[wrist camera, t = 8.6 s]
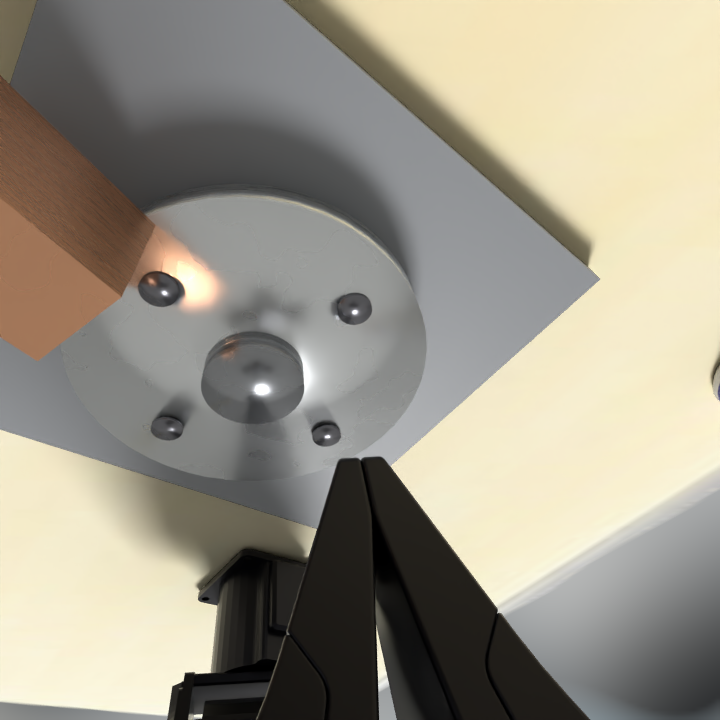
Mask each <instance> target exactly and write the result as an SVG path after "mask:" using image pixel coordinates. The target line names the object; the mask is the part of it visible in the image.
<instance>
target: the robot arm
mask: <svg viewBox="0 0 720 720" xmlns="http://www.w3.org/2000/svg"><path fill="white" fill-rule="evenodd" d="M198 600H199V601H200V602H203V603H208V604H213V605H218V606H217V616H216V626H215V636H214V646H213V656H212V666H211V673H205V674H195V672H189V673H185V676H184V681H183V682H181V683H179V684H177V685H175V686H173V687H172V693H171V700H170V706H169V713H168V719H167V720H193V715H196V714H203V716H202V719H196V720H379V702H378V670H377V638H376V625H377V630H378V635H379V639H380V644H381V648H382V653H383V658H384V662H385V667H386V672H387V676H388V681H389V685H390V690H391V695H392V699H393V704H394V708H395V713H396V718H397V720H590V719H589V718H588V717H587V716H586V714H585V713H584V712H583V711H582V710H581V709H580V708H579V707H578V706H577V705H576V704H575V703H574V701H573V700H572V699H571V698H570V697H569V696H568V695H567V694H566V692H565V691H564V690H563V689H562V688H561V687H560V686H559V684H558V683H557V682H556V681H555V680H554V679H553V678H552V676H550V674H549V673H548V672H547V671H546V670H545V668H544V667H543V666H542V665H541V664H540V663H539V662H538V660H537V659H536V658H535V656H534V655H533V654H532V653H531V651H530V650H529V649H528V648H527V646H526V645H525V644H524V642H523V641H522V640H521V639H520V637H519V636H518V635H517V634H516V632H515V631H514V630H513V629H512V627H511V626H510V624H509V623H508V622H507V620H506V619H505V618H504V616H503V615H502V614H501V613H498V614H497V612H498V609H497V607H496V606H495V605H494V603H493V602H492V601H491V599H490V598H489V597H488V595H487V594H486V593H485V591H484V590H483V589H482V587H481V586H480V585H479V583H478V582H477V581H476V579H475V578H474V577H473V575H472V574H471V573H470V572H469V570H468V569H467V568H466V566H465V565H464V564H463V562H462V561H461V560H460V558H459V557H458V556H457V554H456V553H455V552H454V550H453V549H452V548H451V546H450V545H449V544H448V542H447V541H446V540H445V538H444V537H443V536H442V534H441V533H440V532H439V530H438V529H437V528H436V526H435V525H434V524H433V522H432V521H431V520H430V518H429V517H428V516H427V514H426V513H425V512H424V510H423V509H422V508H421V506H420V505H419V504H418V502H417V501H416V500H415V499H414V497H413V496H412V495H411V493H410V492H409V491H408V489H407V488H406V487H405V485H404V484H403V483H402V481H401V480H400V479H399V477H398V476H397V475H396V473H395V472H394V471H393V469H392V468H391V467H390V465H389V464H388V463H387V461H386V460H385V459H384V458H383V457H381V456H373V457H363V458H362V459H361V460H360V459H359V458H356V457H355V458H341V459H339V460H338V462H337V465H336V468H335V471H334V475H333V478H332V481H331V485H330V488H329V491H328V495H327V498H326V501H325V505H324V508H323V511H322V515H321V518H320V521H319V525H318V528H317V531H316V535H315V538H314V541H313V545H312V548H311V551H310V554H309V558H308V561H307V564H303V563H300V562H296V561H292V560H289V559H285V558H281V557H277V556H274V555H270V554H266V553H263V552H259V551H255V550H251V549H245V550H242V551H241V552H240V553H239V554H238V555H237V556H236V557H234V558H233V559H232V560H231V561H230V562H229V563H228V564H227V565H226V566H225V567H224V568H223V569H222V570H221V571H220V572H219V573H218V574H217V575H216V576H215V577H214V578H213V579H212V580H211V581H210V582H209V583H208V584H207V585H206V586H205V587H204V588H203V589H202V590H201V591H200V592H199V595H198Z"/></svg>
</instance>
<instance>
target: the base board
mask: <svg viewBox="0 0 720 720" xmlns="http://www.w3.org/2000/svg"><path fill="white" fill-rule="evenodd" d="M10 85H11V86H12V87H13V88H14V89H15V90H16V91H17V92H18V93H19V94H20V95H21V96H22V97H23V98H24V99H25V100H26V101H27V102H28V103H29V104H30V105H31V106H32V107H33V108H34V109H36V110H37V111H38V112H39V113H40V114H41V115H42V116H43V117H44V118H45V119H46V120H47V121H48V122H49V123H50V124H51V125H52V126H53V127H54V128H55V129H56V130H57V131H58V132H59V133H60V134H62V135H63V136H64V137H65V138H66V139H67V140H68V141H69V142H70V143H71V144H72V145H73V146H74V147H75V148H76V149H77V150H78V151H79V152H80V153H81V154H82V155H83V156H84V157H85V158H86V159H88V160H89V161H90V162H91V163H92V164H93V165H94V166H95V167H96V168H97V169H98V170H99V171H100V172H101V173H102V174H103V175H104V176H105V177H106V178H107V179H108V180H109V181H110V182H111V183H112V184H114V185H115V186H116V187H117V188H118V189H119V190H120V191H121V192H122V193H123V194H124V195H125V196H126V197H127V198H128V199H129V200H130V201H131V202H132V203H133V204H134V205H135V206H136V207H137V208H138V209H139V208H141V207H143V206H145V205H147V204H149V203H151V202H153V201H155V200H157V199H159V198H162V197H165V196H168V195H171V194H174V193H177V192H180V191H183V190H186V189H192V188H197V187H203V186H209V185H215V184H238V183H244V184H256V185H268V186H274V187H278V188H283V189H288V190H292V191H297V192H300V193H303V194H306V195H308V196H311V197H314V198H317V199H320V200H322V201H324V202H326V203H328V204H330V205H332V206H334V207H336V208H338V209H340V210H342V211H344V212H346V213H347V214H349V215H350V216H352V217H353V218H355V219H356V220H358V221H359V222H361V223H362V224H363V225H365V226H366V227H367V228H368V229H369V230H371V231H372V232H373V233H374V234H375V235H376V236H377V237H378V238H379V239H380V240H382V241H383V243H384V244H385V245H386V246H387V247H388V249H389V250H390V251H391V252H392V253H393V255H394V256H395V257H396V258H397V260H398V262H399V263H400V265H401V267H402V268H403V270H404V272H405V273H406V275H407V277H408V280H409V282H410V285H411V287H412V290H413V292H414V294H415V297H416V300H417V302H418V305H419V307H420V310H421V312H422V316H423V321H424V325H425V330H426V344H427V352H426V361H425V368H424V372H423V375H422V379H421V383H420V385H419V387H418V389H417V392H416V394H415V396H414V398H413V400H412V402H411V403H410V405H409V406H408V408H407V410H406V411H405V413H404V414H403V415H402V416H401V418H400V419H399V420H398V421H397V422H396V424H395V425H394V426H393V427H392V428H391V429H390V430H389V431H388V432H387V433H386V434H384V435H383V436H382V437H381V438H380V439H379V440H377V441H376V442H375V443H373V444H372V445H371V446H369V447H368V448H366V449H365V450H363V451H361V452H360V453H358V454H356V455H355V456H353V457H351V458H355V457H356V458H359V459H360V460H361V459H362V458H363V457H373V456H381V457H383V458H384V459H385V460H386V461H387V463H388V464H389V465H390V466H391V465H392V464H393V463H394V462H395V461H397V460H398V459H399V458H400V457H401V456H402V455H403V454H404V453H406V452H407V451H408V450H409V449H410V448H411V447H412V446H413V445H415V444H416V443H417V442H418V441H419V440H420V439H421V438H422V437H424V436H425V435H426V434H427V433H428V432H429V431H430V430H431V429H433V428H434V427H435V426H436V425H437V424H438V423H439V422H440V421H442V420H443V419H444V418H445V417H446V416H447V415H448V414H449V413H451V412H452V411H453V410H454V409H455V408H456V407H457V406H458V405H460V404H461V403H462V402H463V401H464V400H465V399H466V398H467V397H469V396H470V395H471V394H472V393H473V392H474V391H475V390H476V389H477V388H479V387H480V386H481V385H482V384H483V383H484V382H485V381H486V380H488V379H489V378H490V377H491V376H492V375H493V374H494V373H495V372H497V371H498V370H499V369H500V368H501V367H502V366H503V365H504V364H506V363H507V362H508V361H509V360H510V359H511V358H512V357H513V356H515V355H516V354H517V353H518V352H519V351H520V350H521V349H522V348H524V347H525V346H526V345H527V344H528V343H529V342H530V341H531V340H533V339H534V338H535V337H536V336H537V335H538V334H539V333H540V332H542V331H543V330H544V329H545V328H546V327H547V326H548V325H549V324H551V323H552V322H553V321H554V320H555V319H556V318H557V317H558V316H560V315H561V314H562V313H563V312H564V311H565V310H566V309H567V308H569V307H570V306H571V305H572V304H573V303H574V302H575V301H576V300H578V299H579V298H580V297H581V296H582V295H583V294H584V293H585V292H586V291H588V290H589V289H590V288H591V287H592V286H593V285H594V284H595V283H597V282H598V281H599V280H600V278H599V277H598V276H597V275H596V274H595V273H594V272H593V271H592V270H591V269H590V268H589V267H588V266H586V265H585V264H584V263H583V262H582V261H581V260H580V259H578V258H577V257H576V256H575V255H574V254H573V253H572V252H570V251H569V250H568V249H567V248H566V247H565V246H564V245H563V244H561V243H560V242H559V241H558V240H557V239H556V238H555V237H553V236H552V235H551V234H550V233H549V232H548V231H547V230H545V229H544V228H543V227H542V226H541V225H540V224H539V223H537V222H536V221H535V220H534V219H533V218H532V217H531V216H530V215H528V214H527V213H526V212H525V211H524V210H523V209H522V208H520V207H519V206H518V205H517V204H516V203H515V202H514V201H512V200H511V199H510V198H509V197H508V196H507V195H506V194H505V193H503V192H502V191H501V190H500V189H499V188H498V187H497V186H495V185H494V184H493V183H492V182H491V181H490V180H489V179H487V178H486V177H485V176H484V175H483V174H482V173H481V172H479V171H478V170H477V169H476V168H475V167H474V166H473V165H472V164H470V163H469V162H468V161H467V160H466V159H465V158H464V157H462V156H461V155H460V154H459V153H458V152H457V151H456V150H454V149H453V148H452V147H451V146H450V145H449V144H448V143H446V142H445V141H444V140H443V139H442V138H441V137H440V136H439V135H437V134H436V133H435V132H434V131H433V130H432V129H431V128H429V127H428V126H427V125H426V124H425V123H424V122H423V121H421V120H420V119H419V118H418V117H417V116H416V115H415V114H414V113H412V112H411V111H410V110H409V109H408V108H407V107H406V106H404V105H403V104H402V103H401V102H400V101H399V100H398V99H396V98H395V97H394V96H393V95H392V94H391V93H390V92H388V91H387V90H386V89H385V88H384V87H383V86H382V85H381V84H379V83H378V82H377V81H376V80H375V79H374V78H373V77H371V76H370V75H369V74H368V73H367V72H366V71H365V70H363V69H362V68H361V67H360V66H359V65H358V64H357V63H355V62H354V61H353V60H352V59H351V58H350V57H349V56H348V55H346V54H345V53H344V52H343V51H342V50H341V49H340V48H338V47H337V46H336V45H335V44H334V43H333V42H332V41H330V40H329V39H328V38H327V37H326V36H325V35H324V34H323V33H321V32H320V31H319V30H318V29H317V28H316V27H315V26H313V25H312V24H311V23H310V22H309V21H308V20H307V19H305V18H304V17H303V16H302V15H301V14H300V13H299V12H297V11H296V10H295V9H294V8H293V7H292V6H291V5H290V4H288V3H287V2H286V1H285V0H37V3H36V6H35V9H34V12H33V15H32V18H31V21H30V24H29V27H28V30H27V33H26V36H25V40H24V43H23V46H22V49H21V52H20V55H19V58H18V61H17V64H16V67H15V70H14V73H13V76H12V79H11V82H10ZM0 430H4V431H7V432H10V433H13V434H16V435H20V436H23V437H26V438H29V439H32V440H36V441H39V442H42V443H45V444H48V445H51V446H55V447H58V448H61V449H64V450H67V451H71V452H74V453H77V454H80V455H83V456H87V457H90V458H93V459H96V460H99V461H102V462H106V463H109V464H112V465H115V466H118V467H122V468H125V469H128V470H131V471H134V472H138V473H141V474H144V475H147V476H150V477H153V478H157V479H160V480H163V481H166V482H169V483H173V484H176V485H179V486H182V487H185V488H189V489H192V490H195V491H198V492H201V493H205V494H208V495H211V496H214V497H217V498H220V499H224V500H227V501H230V502H233V503H236V504H240V505H243V506H246V507H249V508H252V509H256V510H259V511H262V512H265V513H268V514H271V515H275V516H278V517H281V518H284V519H287V520H291V521H294V522H297V523H300V524H303V525H307V526H310V527H313V528H316V529H317V528H318V525H319V521H320V518H321V515H322V511H323V508H324V505H325V501H326V498H327V495H328V491H329V488H330V485H331V481H332V478H333V475H334V471H335V468H336V465H337V464H336V465H334V466H331V467H328V468H326V469H323V470H320V471H317V472H313V473H309V474H306V475H302V476H296V477H291V478H285V479H277V480H267V481H237V480H224V479H217V478H210V477H205V476H200V475H196V474H192V473H187V472H184V471H181V470H178V469H175V468H172V467H169V466H166V465H164V464H162V463H159V462H157V461H155V460H152V459H150V458H148V457H146V456H144V455H143V454H141V453H139V452H137V451H135V450H133V449H132V448H130V447H129V446H127V445H126V444H124V443H123V442H122V441H120V440H119V439H117V438H116V437H115V436H113V435H112V434H111V433H110V432H109V431H108V430H106V429H105V428H104V427H103V426H102V425H101V424H100V423H99V422H98V421H97V420H96V419H95V418H94V417H93V415H92V414H91V413H90V412H89V411H88V410H87V409H86V407H85V406H84V404H83V403H82V401H81V400H80V398H79V397H78V396H77V394H76V392H75V390H74V388H73V386H72V384H71V382H70V380H69V378H68V376H67V373H66V369H65V366H64V363H63V360H62V355H61V347H60V345H58V346H57V347H56V348H54V349H53V350H52V351H50V352H49V353H48V354H47V355H45V356H44V357H43V358H41V359H40V360H39V361H36V360H35V359H33V358H32V357H30V356H28V355H27V354H25V353H24V352H22V351H21V350H19V349H18V348H16V347H15V346H13V345H12V344H10V343H8V342H7V341H5V340H4V339H2V338H1V337H0Z"/></svg>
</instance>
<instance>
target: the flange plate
mask: <svg viewBox="0 0 720 720" xmlns="http://www.w3.org/2000/svg"><path fill="white" fill-rule="evenodd" d="M0 337H1V338H2V339H4V340H5V341H7V342H8V343H10V344H12V345H13V346H15V347H16V348H18V349H19V350H21V351H22V352H24V353H25V354H27V355H28V356H30V357H32V358H33V359H35V360H36V361H39V360H40V359H41V358H43V357H44V356H45V355H47V354H48V353H49V352H50V351H52V350H53V349H54V348H56V347H57V346H58V345H60V347H61V355H62V360H63V363H64V366H65V369H66V373H67V376H68V378H69V380H70V382H71V384H72V386H73V388H74V390H75V392H76V394H77V396H78V397H79V398H80V400H81V401H82V403H83V404H84V406H85V407H86V409H87V410H88V411H89V412H90V413H91V414H92V415H93V417H94V418H95V419H96V420H97V421H98V422H99V423H100V424H101V425H102V426H103V427H104V428H105V429H106V430H108V431H109V432H110V433H111V434H112V435H113V436H115V437H116V438H117V439H119V440H120V441H122V442H123V443H124V444H126V445H127V446H129V447H130V448H132V449H133V450H135V451H137V452H139V453H141V454H143V455H144V456H146V457H148V458H150V459H152V460H155V461H157V462H159V463H162V464H164V465H166V466H169V467H172V468H175V469H178V470H181V471H184V472H187V473H192V474H196V475H200V476H205V477H210V478H217V479H224V480H237V481H267V480H277V479H285V478H291V477H296V476H302V475H306V474H309V473H313V472H317V471H320V470H323V469H326V468H328V467H331V466H334V465H336V464H337V462H338V460H339V459H341V458H351V457H353V456H355V455H356V454H358V453H360V452H361V451H363V450H365V449H366V448H368V447H369V446H371V445H372V444H373V443H375V442H376V441H377V440H379V439H380V438H381V437H382V436H383V435H384V434H386V433H387V432H388V431H389V430H390V429H391V428H392V427H393V426H394V425H395V424H396V422H397V421H398V420H399V419H400V418H401V416H402V415H403V414H404V413H405V411H406V410H407V408H408V406H409V405H410V403H411V402H412V400H413V398H414V396H415V394H416V392H417V389H418V387H419V385H420V383H421V379H422V375H423V372H424V368H425V361H426V352H427V344H426V330H425V325H424V321H423V316H422V312H421V310H420V307H419V305H418V302H417V300H416V297H415V294H414V292H413V290H412V287H411V285H410V282H409V280H408V277H407V275H406V273H405V272H404V270H403V268H402V267H401V265H400V263H399V262H398V260H397V258H396V257H395V256H394V255H393V253H392V252H391V251H390V250H389V249H388V247H387V246H386V245H385V244H384V243H383V241H382V240H380V239H379V238H378V237H377V236H376V235H375V234H374V233H373V232H372V231H371V230H369V229H368V228H367V227H366V226H365V225H363V224H362V223H361V222H359V221H358V220H356V219H355V218H353V217H352V216H350V215H349V214H347V213H346V212H344V211H342V210H340V209H338V208H336V207H334V206H332V205H330V204H328V203H326V202H324V201H322V200H320V199H317V198H314V197H311V196H308V195H306V194H303V193H300V192H297V191H292V190H288V189H283V188H278V187H274V186H268V185H256V184H244V183H238V184H215V185H209V186H203V187H197V188H192V189H186V190H183V191H180V192H177V193H174V194H171V195H168V196H165V197H162V198H159V199H157V200H155V201H153V202H151V203H149V204H147V205H145V206H143V207H141V208H139V209H138V208H137V207H136V206H135V205H134V204H133V203H132V202H131V201H130V200H129V199H128V198H127V197H126V196H125V195H124V194H123V193H122V192H121V191H120V190H119V189H118V188H117V187H116V186H115V185H114V184H112V183H111V182H110V181H109V180H108V179H107V178H106V177H105V176H104V175H103V174H102V173H101V172H100V171H99V170H98V169H97V168H96V167H95V166H94V165H93V164H92V163H91V162H90V161H89V160H88V159H86V158H85V157H84V156H83V155H82V154H81V153H80V152H79V151H78V150H77V149H76V148H75V147H74V146H73V145H72V144H71V143H70V142H69V141H68V140H67V139H66V138H65V137H64V136H63V135H62V134H60V133H59V132H58V131H57V130H56V129H55V128H54V127H53V126H52V125H51V124H50V123H49V122H48V121H47V120H46V119H45V118H44V117H43V116H42V115H41V114H40V113H39V112H38V111H37V110H36V109H34V108H33V107H32V106H31V105H30V104H29V103H28V102H27V101H26V100H25V99H24V98H23V97H22V96H21V95H20V94H19V93H18V92H17V91H16V90H15V89H14V88H13V87H12V86H11V85H10V84H8V83H7V82H6V81H5V80H4V79H3V78H2V77H1V76H0Z"/></svg>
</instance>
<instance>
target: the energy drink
mask: <svg viewBox="0 0 720 720" xmlns="http://www.w3.org/2000/svg"><path fill="white" fill-rule="evenodd" d="M713 392H714V395H715V397H716V398H717V399H718V400H719V401H720V365H719V366H718V368H717V370H716V372H715V375H714V380H713Z"/></svg>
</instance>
